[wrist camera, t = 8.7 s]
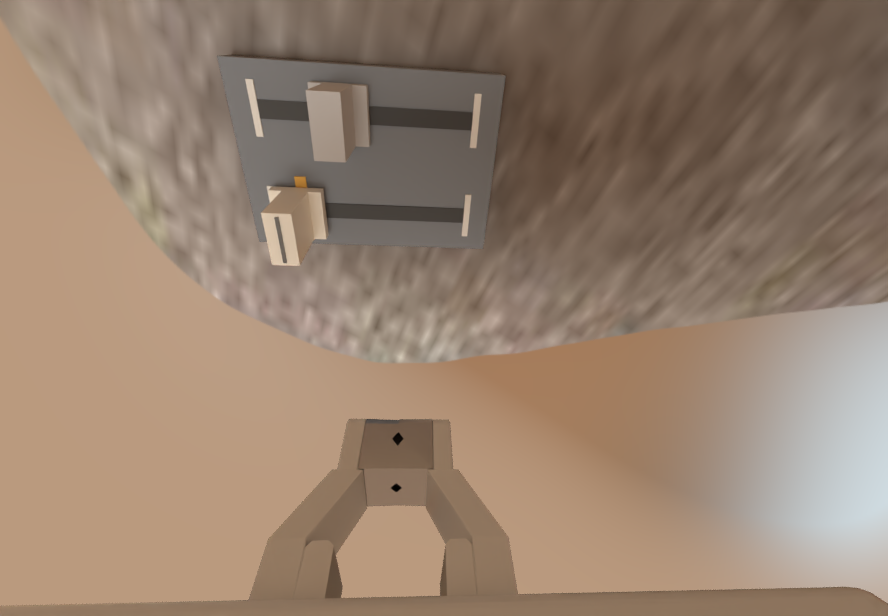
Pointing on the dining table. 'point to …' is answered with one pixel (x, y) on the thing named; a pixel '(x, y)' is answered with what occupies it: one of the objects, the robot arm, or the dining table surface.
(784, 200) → the dining table surface
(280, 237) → the cap
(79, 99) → the dining table surface
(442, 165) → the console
